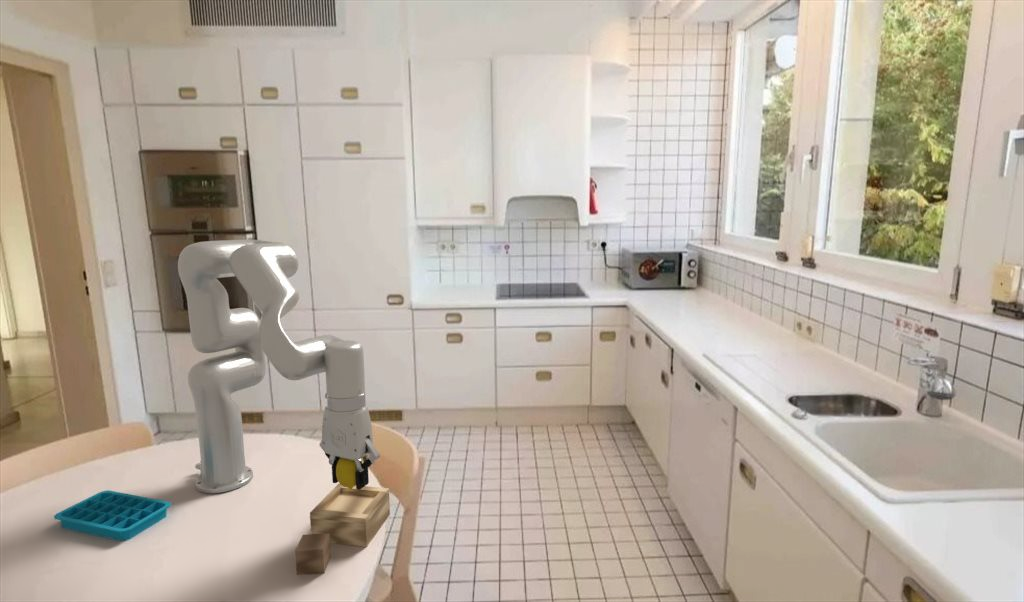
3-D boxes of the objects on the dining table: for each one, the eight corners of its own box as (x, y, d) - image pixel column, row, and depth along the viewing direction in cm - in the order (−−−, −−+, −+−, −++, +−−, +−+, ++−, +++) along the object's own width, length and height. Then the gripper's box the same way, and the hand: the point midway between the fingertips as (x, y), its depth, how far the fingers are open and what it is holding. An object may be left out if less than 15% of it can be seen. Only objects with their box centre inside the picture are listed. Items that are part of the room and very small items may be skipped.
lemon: (356, 496, 110) (354, 459, 109) (331, 493, 111) (329, 457, 110) (368, 483, 116) (367, 448, 114) (345, 481, 117) (343, 446, 116)
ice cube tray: (106, 501, 125) (104, 489, 125) (175, 515, 120) (174, 502, 119) (52, 529, 114) (50, 516, 114) (125, 546, 109) (124, 532, 108)
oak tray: (311, 540, 110) (309, 512, 109) (339, 509, 122) (338, 483, 121) (366, 546, 108) (365, 518, 107) (389, 514, 120) (389, 488, 119)
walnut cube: (296, 575, 100) (295, 550, 99) (304, 558, 105) (302, 534, 104) (324, 573, 100) (323, 549, 100) (330, 556, 105) (329, 533, 105)
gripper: (301, 400, 111) (306, 483, 114) (368, 413, 104) (371, 501, 107) (327, 390, 117) (332, 467, 120) (392, 401, 110) (395, 484, 113)
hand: (350, 482), depth 113 cm, fingers closed on lemon, 5 cm apart
